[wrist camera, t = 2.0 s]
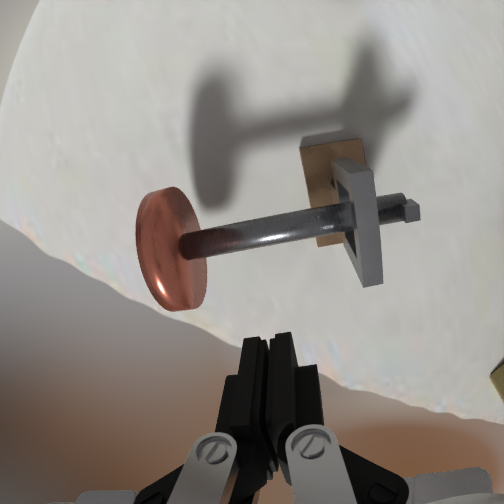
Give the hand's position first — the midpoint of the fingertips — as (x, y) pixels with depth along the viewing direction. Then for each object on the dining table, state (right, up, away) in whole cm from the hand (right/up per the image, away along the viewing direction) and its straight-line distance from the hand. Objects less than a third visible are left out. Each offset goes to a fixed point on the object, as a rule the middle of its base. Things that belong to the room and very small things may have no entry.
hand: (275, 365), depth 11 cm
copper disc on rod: (+2, +8, +18) cm, 20 cm away
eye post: (+8, +10, +20) cm, 24 cm away
